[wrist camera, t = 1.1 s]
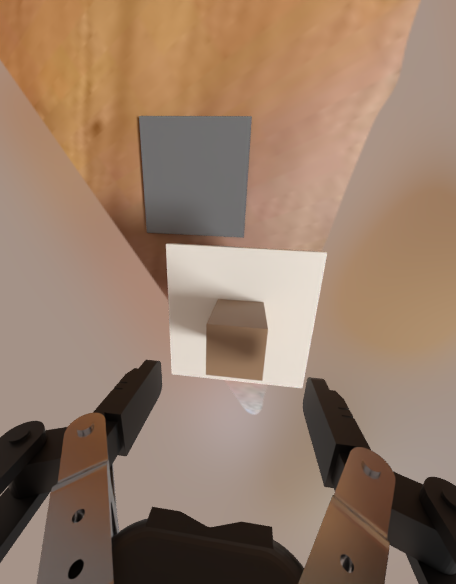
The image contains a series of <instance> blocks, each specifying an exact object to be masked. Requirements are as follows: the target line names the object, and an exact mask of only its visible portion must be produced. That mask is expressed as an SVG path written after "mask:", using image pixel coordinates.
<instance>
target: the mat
mask: <svg viewBox="0 0 456 584" xmlns="http://www.w3.org/2000/svg"><path fill="white" fill-rule="evenodd" d="M251 119H252V116H139V124H140V139H141V153H142V168H143V182H144V197H145V211H146V226H147V233H166V234H185V235H204V236H224V237H243V238H244V226H245V211H246V196H247V181H248V165H249V150H250V135H251Z"/></svg>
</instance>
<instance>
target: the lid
mask: <svg viewBox="0 0 456 584" xmlns="http://www.w3.org/2000/svg"><path fill="white" fill-rule="evenodd" d="M166 257H167V279H168V302H169V323H170V344H171V345H170V346H171V367H172V374H176V375H185V376H194V377H203V378H212V379H222V380H231V381H240V382H249V383H258V384H268V385H277V386H286V387H295V388H302V387H303V381H304V376H305V371H306V365H307V360H308V355H309V349H310V344H311V338H312V333H313V327H314V322H315V316H316V311H317V306H318V300H319V294H320V289H321V284H322V278H323V273H324V268H325V262H326V257H327V253H326V252H323V251H306V250H287V249H268V248H250V247H231V246H213V245H194V244H176V243H168V244H166Z"/></svg>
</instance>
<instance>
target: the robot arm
mask: <svg viewBox="0 0 456 584" xmlns="http://www.w3.org/2000/svg"><path fill="white" fill-rule="evenodd" d="M161 389H162V374H161V362H160V361H153V360H146V361H144V363H143V364H142V365H141V366H140V367H139V369H137V368H134V369H133V370H132V371H130V372H128V373H127V374H125V376H124V377H123V378H122V379H121V380H120V382H119V383H118V384H117V385H116V386H115V388H114V389H113V390H112V391H111V392H110V393H109V394H108V396H107V397H106V398H105V399H104V400H103V401H102V403H101V404H100V405H99V406H98V407H97V409H96V410H95V411H94V412H93V413H89V414H86V415H83V416H81V417H79V418H77V419H76V420H74V421H73V422H72V423H71V424H70V425H69V426H68V427H64V428H58V429H52V430H46V431H45V427H44V425H43V423H42V422H39V421H31V422H26V423H23V424H21V425H18V426H16V427H14V428H13V429H11V430H9V431H8V432H6V433H5V434H4V435H3V436H2V437H0V494H1V493H2V492H3V491H4V490H5V489H6V488H7V486H9V487H8V488H7V489H6V490H5V492H4V493H3V494H2V495H1V496H0V562H1V561H2V560H3V558H4V557H5V555H6V554H7V553H8V551H9V550H10V548H11V547H12V545H13V544H14V543H15V541H16V540H17V538H18V537H19V536H20V534H21V533H22V531H23V530H24V528H25V527H26V526H27V524H28V523H29V521H30V520H31V518H32V517H33V516H34V514H35V513H36V511H37V510H38V509H39V507H40V506H41V504H42V503H43V501H44V500H45V499H46V497H47V496H48V494H49V493H50V492H51V493H50V499H49V507H48V512H47V519H46V525H45V532H44V539H43V545H42V552H41V558H40V565H39V572H38V578H37V584H385V576H386V569H387V562H388V555H389V545H391V546H393V547H395V548H397V549H399V550H400V551H403V552H404V553H406V555H407V558H408V560H409V562H410V564H411V567H412V569H413V572H414V574H415V576H416V579H417V581H418V583H419V584H456V486H455V485H453V484H452V483H450V482H448V481H446V480H443V479H441V478H437V477H429V478H427V479H426V480H425V482H424V484H421V483H418V482H416V481H413V480H411V479H409V478H407V477H404V476H402V475H400V474H397V473H395V472H393V471H392V469H391V467H390V466H389V465H388V463H387V462H386V461H385V460H384V459H383V458H382V457H381V456H379V455H378V454H376V453H375V452H373V451H371V449H370V447H369V445H368V443H367V441H366V440H365V438H364V436H363V434H362V432H361V430H360V429H359V427H358V425H357V423H356V421H355V419H354V418H353V416H352V414H351V412H350V410H349V408H348V406H347V404H346V403H345V401H344V399H343V398H342V397H341V396H340V395H339V394H338V393H337V392H336V391H333V390H329V388H328V386H327V384H326V382H325V380H324V379H319V378H310V377H309V378H308V379H307V383H306V389H305V394H304V399H303V412H304V416H305V419H306V423H307V427H308V430H309V434H310V437H311V441H312V444H313V448H314V452H315V455H316V459H317V462H318V466H319V469H320V473H321V476H322V480H323V483H324V486H325V487H330V488H334V490H335V493H334V495H333V496H332V498H331V501H330V503H329V506H328V508H327V511H326V514H325V516H324V518H323V521H322V524H321V526H320V529H319V532H318V534H317V537H316V539H315V542H314V544H313V547H312V550H311V552H310V555H309V558H308V560H307V563H306V565H305V568H303V566H302V565H301V563H299V561H298V560H297V559H296V558H295V557H294V555H292V554H291V553H290V552H289V551H288V550H287V549H286V548H285V547H283V546H282V545H281V544H279V543H278V542H276V541H274V540H273V535H272V527H270V526H264V525H258V524H252V523H246V522H238V523H232V524H227V525H221V526H216V527H207V526H205V525H203V524H201V523H200V522H198V521H196V520H194V519H193V518H191V517H189V516H187V515H186V514H184V513H182V512H180V511H174V510H168V509H162V508H156V507H152V509H151V512H150V514H149V517H148V519H144V520H141V521H138V522H136V523H133V524H131V525H129V526H128V527H126V528H124V529H123V530H121V531H120V532H119V526H118V519H117V508H116V496H115V484H114V472H113V462H114V460H115V459H116V457H117V455H121V456H127V455H128V453H129V451H130V449H131V447H132V445H133V443H134V442H135V440H136V438H137V436H138V434H139V432H140V431H141V429H142V427H143V425H144V423H145V421H146V420H147V418H148V416H149V414H150V412H151V410H152V409H153V407H154V405H155V403H156V401H157V399H158V397H159V395H160V393H161Z"/></svg>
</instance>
